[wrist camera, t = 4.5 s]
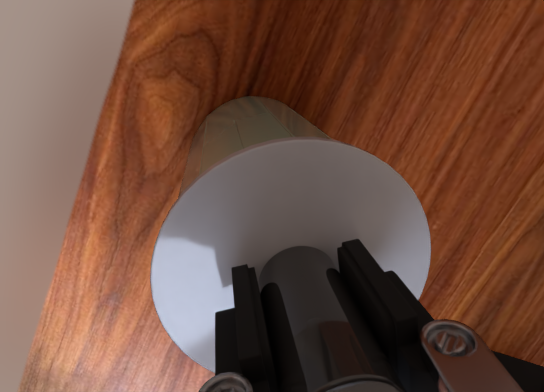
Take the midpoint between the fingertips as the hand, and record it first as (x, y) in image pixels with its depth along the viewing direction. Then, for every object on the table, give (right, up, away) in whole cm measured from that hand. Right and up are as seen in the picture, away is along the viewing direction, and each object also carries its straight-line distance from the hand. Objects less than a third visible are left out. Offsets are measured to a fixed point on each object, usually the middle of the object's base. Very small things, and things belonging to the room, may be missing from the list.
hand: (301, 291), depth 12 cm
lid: (0, 0, +1) cm, 1 cm away
